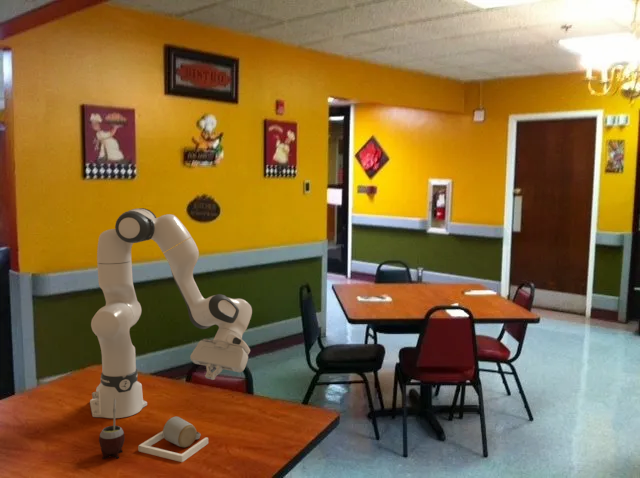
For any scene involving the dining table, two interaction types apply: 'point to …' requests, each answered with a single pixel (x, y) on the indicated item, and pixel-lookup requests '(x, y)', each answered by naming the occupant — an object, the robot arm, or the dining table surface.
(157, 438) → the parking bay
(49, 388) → the dining table surface
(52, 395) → the dining table surface
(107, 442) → the mate gourd
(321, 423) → the dining table surface
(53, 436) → the dining table surface
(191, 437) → the ceramic mug
